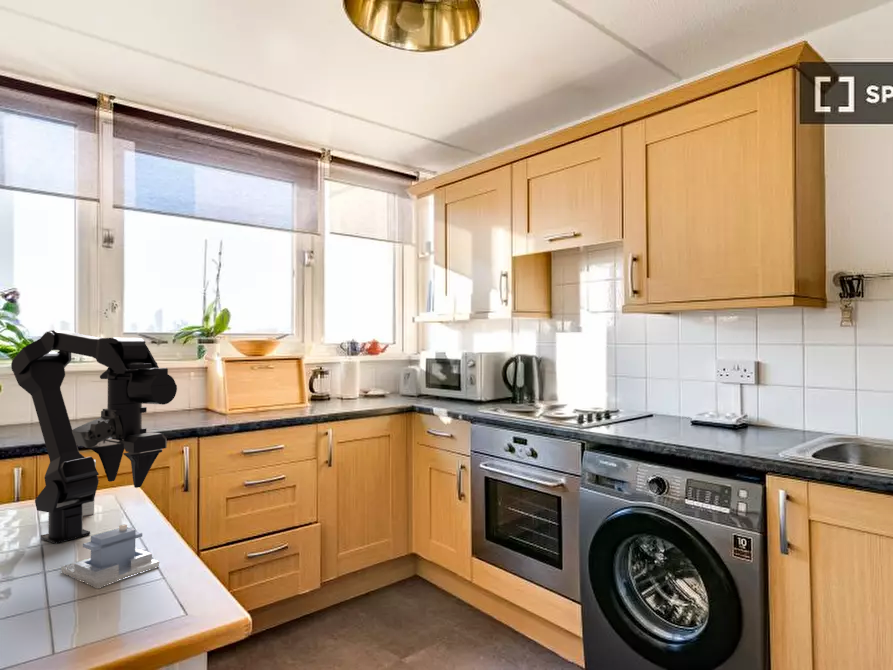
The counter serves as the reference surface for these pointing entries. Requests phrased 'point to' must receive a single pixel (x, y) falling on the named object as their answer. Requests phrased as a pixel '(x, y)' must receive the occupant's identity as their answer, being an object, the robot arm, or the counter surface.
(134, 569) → the mount plate
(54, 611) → the counter surface
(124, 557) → the block
